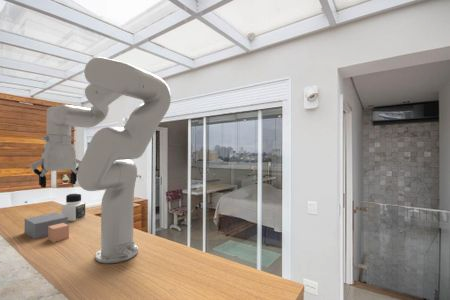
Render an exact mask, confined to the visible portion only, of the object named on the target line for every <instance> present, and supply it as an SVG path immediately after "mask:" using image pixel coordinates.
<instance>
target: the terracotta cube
mask: <svg viewBox="0 0 450 300" xmlns="http://www.w3.org/2000/svg"><path fill="white" fill-rule="evenodd" d="M69 230H70V225H69V224H68V225H67V224H65V223H60V224H56V225H52V226H48V236H47V239H49V241H50V240H51V241H50V242H52V243H53V242H54V243H57V242H60V241H59V240H61V241H63V240H62V239H64V240H67V238H68V239H69V238H70V231H69ZM56 241H57V242H56Z"/></svg>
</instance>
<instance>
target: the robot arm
mask: <svg viewBox="0 0 450 300" xmlns="http://www.w3.org/2000/svg"><path fill="white" fill-rule="evenodd" d="M84 78H85V79H86V81H87V82H88V83H89V84H88V85H87V86H86V87H85V89H84V95H85V98H86V99H87V101H88V102H89V103H90V104H91V105H92V106H91V107H88V108H87V107H85V106H84V107H82V106H76V105H69V104H58V105H56V106H49V107H47V109H46V135H45V136H41V140H42V141H45V143H44V145H43V148H42V153H41V159H39V160H37V161H33V162H32V163H30V164H29V168H30V169H31V170H32V172H33V173H34V174H35V175H36V176H38V185H39V186H40V188H46V187H47V176H46V174H47V173H48V172H57V171H70V176H69V177H70V179H69V180H70V181H69V184H70V185H76V182H77V184H78V185H79V187H80V188H81V189H83V190H84V191H86V192H87V191H88V192H96V191H97V192H98V191H103V190H105V191H104V193H103V196H102V197H101V208H100V209H101V210H100V211H101V212H100V216H101V217H100V223H101V224H100V226H101V227H100V248H99V249H98V250H97V251H96V252H95V255H94V256H95V261H97V263H98V262H99V263H100V264H101V263H102V264H115V263H121V262H125V261H127V260H131V259H132V258H134V257H135V256H137V254H138V252H139V246H138V245H136V244H135V240H134V206H135V205H134V204H135V203H134V202H135V201H134V200H135V199H134V198H135V197H134V196H135V187H136V182H137V177H138V168H137V165H136V164H135V162H134V161H133V160H136V159H139V158H141V157H142V156H143V155H144V153H145V152H146V149H147V147H148V146H149V144H150V143H151V141H152V139H153V136H154V135H155V132H156V130H157V129H158V126H159V125H160V124H161V122H162V120H163V119H164V117H165V116H166V115H167V112H168V110H169V108H170V105H171V102H172V101H171V100H172V95H171V94H172V93H171V90H170V87H169V85H168V84H167V83H166V81H165V80H164V79H162V78H161V77H159V76H158V75H156V74H154V73H152V72H149V71H147V70H144V69H142V68H139V67H137V66H136V65H132V64H130V63H127V62H124V61H119V60H116V59H111V58H108V57H107V58H106V57H103V56H96V57H92V58H91V59H90V60H89V61H88V62H87V63H86V65H85V67H84ZM122 96H126V97H130V98H134V99H138V100H141V101H143V102H142V103H141V104H139V105H138V106H137V107H135V109H133V111H132V112H131V113H130V114H129V118H128V119H127V121H126V123H125V124H124V126H122V127H116V126H113V127H112V126H106V127H103V128H100V129H99V130H97V131H96V132H95V133H94V135H93V136H92V137H91V140H90V141H89V144H88V146H87V148H86V151H85V152H84V155H83V157H82V159H81V160H79V159H78V158H77V155H76V149H75V144H73V143H72V127H76V128H84V129H85V128H86V129H88V128H94V127H96V126H97V125H99V124H100V123H102V122H103V121H104V120H106V118H107V117H108V114H109V109H110V107H109V106H110V105H111V104H112V103H114V102H115V101H116V100H118V99H119V98H121V97H122ZM77 164H78V165H77ZM37 166H41V169H38V168H37Z"/></svg>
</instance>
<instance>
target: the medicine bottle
mask: <svg viewBox="0 0 450 300" xmlns="http://www.w3.org/2000/svg"><path fill="white" fill-rule="evenodd" d="M65 200H66V202H65V203H66V204H63V205H61V213H60V214H62V215H64V216H67V217H68V222H77V221H79V220H81V219H83V218H85V217H86V202H82V194H80V193H69V194H67V195H66V197H65Z"/></svg>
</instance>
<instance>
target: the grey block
mask: <svg viewBox="0 0 450 300" xmlns="http://www.w3.org/2000/svg"><path fill="white" fill-rule="evenodd" d="M60 223H65V224H67V225H69V221H68V217H67V216H64V215H62V214H61V213H59V212H53V213H46V214H42V215H37V216H32V217H27V218H24V234H26V235H27V236H29V237H30V238H32V239H34V240H37V239H38V240H39V239H42V238H45V236H46V237H48V226H52V225H56V224H60ZM41 237H42V238H41Z"/></svg>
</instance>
